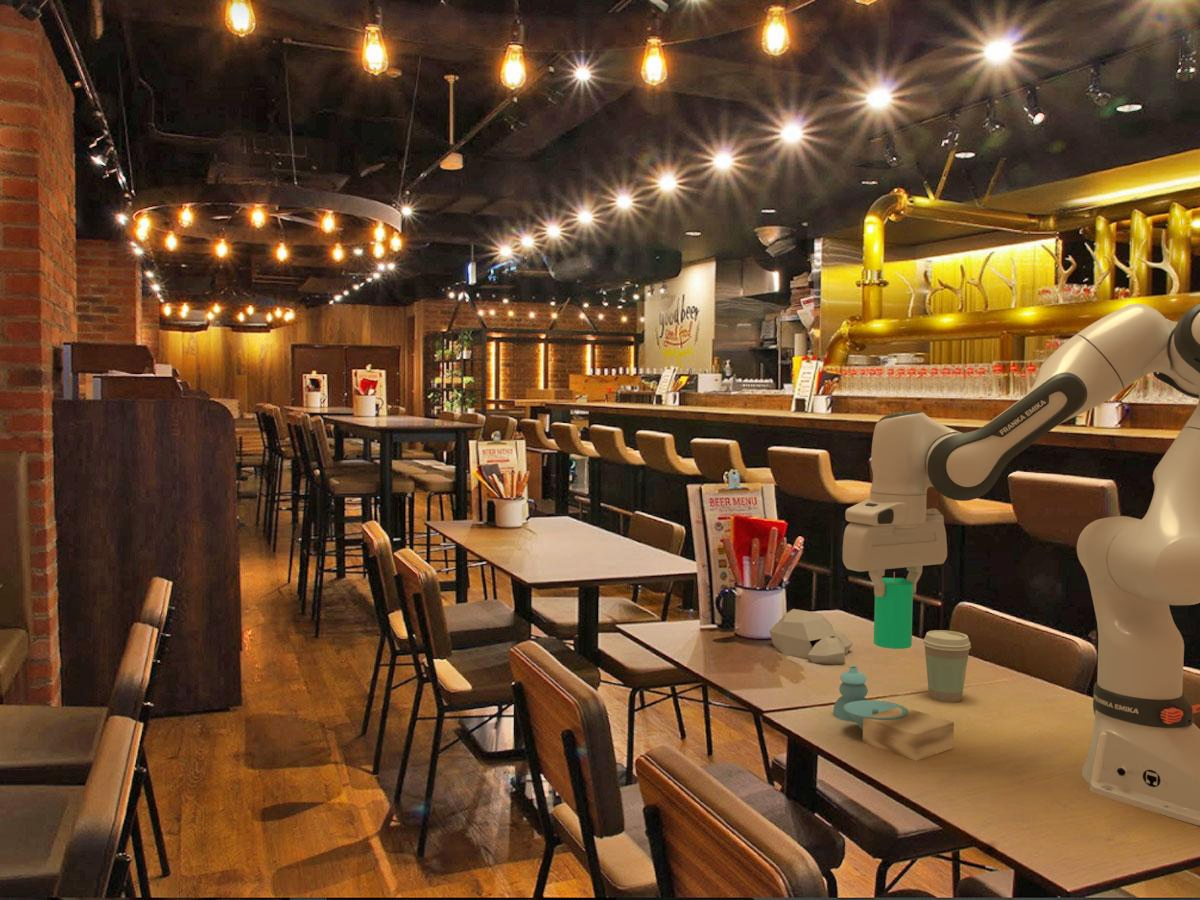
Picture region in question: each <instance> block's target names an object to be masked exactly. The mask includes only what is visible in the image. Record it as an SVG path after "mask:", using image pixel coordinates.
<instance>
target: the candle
mask: <svg viewBox="0 0 1200 900" xmlns="http://www.w3.org/2000/svg"><path fill="white" fill-rule="evenodd" d="M895 574H896V572H895V571H894V572H893V577H882V579H883V581H884V584H885V586H887V595H886V596H884V597H878V596H875V595H874V609H873V610H874V611H873V612H874V617H873V618H874V619H873V620H874V622H873V644H874V645H875V646H878V647H880V648H884V649H893V650H904V649H909V648H911V647H912V645H913V644H912V641H913V640H912V639H913V609H914V607H913V603H914V602H913V601H914V593H913V583H912V582H910V581H909V580H906V578H904V577H896V575H895Z"/></svg>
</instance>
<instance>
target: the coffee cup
mask: <svg viewBox="0 0 1200 900" xmlns="http://www.w3.org/2000/svg"><path fill="white" fill-rule="evenodd" d="M922 644H923V645H924V653H925V664H926V665H925V666H926V674H927V675H926V676H927V677H926V678H927V686H928V687H927V688H928V696H929V698H930V699H932V700H935V701H938V702H943V703H958V702H960V701H962V699H963V694H964V693H963V692H964V687H965V680H966V674H967V666H968V660H969V654H970V649H971V648H972V646H971V641H970V639H969V636H968V635H967V634H965V633H963V632H959V631H953V630H944V629H943V630H941V629H940V630H937V629H935V630H928V631H927V632H926V634H925V636H924V638H923V642H922Z"/></svg>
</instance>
